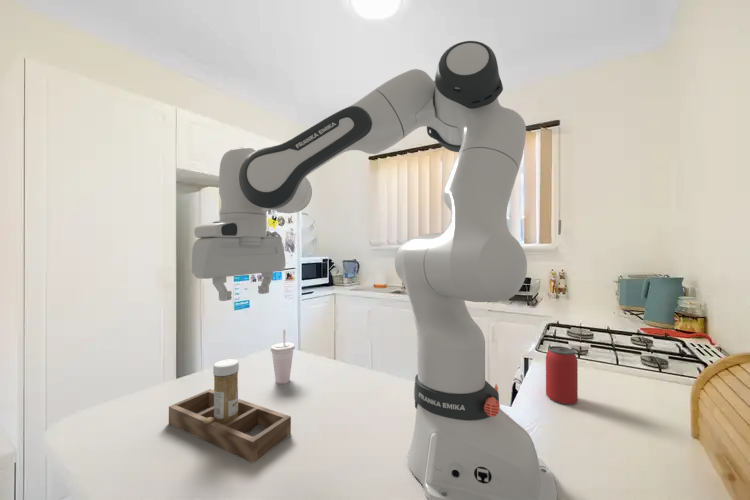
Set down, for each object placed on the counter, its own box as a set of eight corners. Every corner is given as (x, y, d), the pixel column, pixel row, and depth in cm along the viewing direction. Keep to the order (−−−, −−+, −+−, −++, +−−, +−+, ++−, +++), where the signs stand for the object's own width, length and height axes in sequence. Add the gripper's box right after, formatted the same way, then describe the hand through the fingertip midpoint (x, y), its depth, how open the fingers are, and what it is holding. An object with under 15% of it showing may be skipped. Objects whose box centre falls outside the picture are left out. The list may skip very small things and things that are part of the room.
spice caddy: (290, 434, 59) (290, 414, 59) (250, 464, 51) (250, 441, 51) (209, 404, 71) (210, 387, 71) (166, 424, 62) (166, 405, 62)
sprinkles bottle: (240, 431, 60) (241, 363, 60) (215, 439, 57) (215, 368, 57) (235, 420, 64) (236, 356, 64) (211, 428, 61) (211, 361, 61)
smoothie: (299, 379, 84) (299, 329, 85) (281, 388, 79) (281, 334, 79) (283, 374, 88) (284, 326, 88) (265, 382, 82) (265, 330, 83)
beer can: (580, 398, 74) (580, 349, 74) (574, 409, 69) (574, 356, 69) (549, 390, 78) (549, 343, 78) (542, 399, 73) (542, 349, 73)
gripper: (271, 232, 73) (272, 289, 73) (185, 228, 55) (187, 304, 55) (291, 230, 70) (292, 290, 70) (207, 226, 52) (209, 306, 52)
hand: (245, 296), depth 62 cm, fingers open, 8 cm apart
